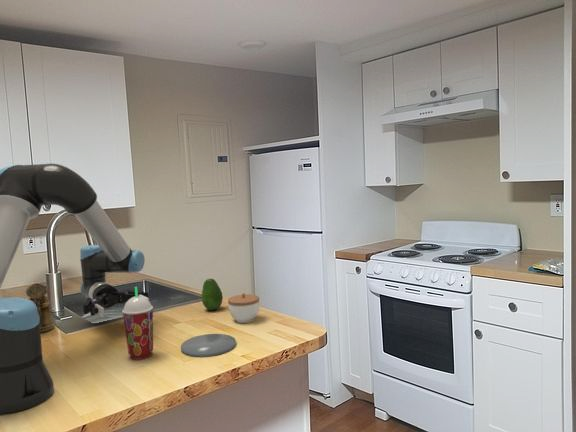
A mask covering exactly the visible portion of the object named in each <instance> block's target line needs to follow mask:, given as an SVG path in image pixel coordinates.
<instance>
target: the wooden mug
mask: <svg viewBox="0 0 576 432" xmlns="http://www.w3.org/2000/svg"><path fill="white" fill-rule="evenodd" d="M25 293H26V296H27V297H29V298H28V299H29V300H31V301H33V302H34V303H35V304H36V306H37V310H38V315H39V318H40V334H42V333H46V332H50V331H53V330H54V329H55V328H56V326H55V321H54V320H53V317H52V313H51V312H52V311H51V308H50V306H51V303H50V300H49V299H48V296H47V293H48V290H47V287H46V286H45V285H44V284H41V283H40V284H39V283H33V284H31V285H30V286H28V287H27V289H26V291H25Z"/></svg>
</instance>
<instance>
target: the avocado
mask: <svg viewBox="0 0 576 432" xmlns="http://www.w3.org/2000/svg"><path fill="white" fill-rule="evenodd" d="M223 298H224V297H223V293H222V289H221V288H220V286H219V283H218V282H217V281H216V280H215V279H214V278H207V279H206V280H204V282H203V285H202V291H201V302H202V305H203V306H204V307H205V308H206V309H207V310H209V311H215V310H217V309H219V308H220V307H221V306H222V303H223Z"/></svg>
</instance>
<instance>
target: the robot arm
mask: <svg viewBox="0 0 576 432" xmlns="http://www.w3.org/2000/svg"><path fill="white" fill-rule="evenodd" d="M97 199H98V194H97V192H96V191H95V190H94V188H93V187H92V186H91V185H90V183H88V182H87V181H86V179H84V178H83V177H82V176H81V175H79V173H77V172H76V171H74V170H73V169H70V168H69V167H67V166H64V165H62V164H58V163H52V162H51V163H41V164H40V163H39V164H24V165H23V164H13V165H10V166H5V167H3V168H0V289H1V288H2V285H3V283H4V280H5V279H6V276H7V274H8V271H9V269H10V267H11V264H12V261H13V260H14V257H15V255H16V252H17V251H18V247H19V246H20V243H21V242H22V238H23V236H24V234H25V232H26V230H27V228H28V227H27V226H28V224H29V222H30V220H33V219H36V218H37V217H38V216H39V215H40V212H41V209H42V207H43V206H53V205H55V206H59V207H60V208H63V209H64V210H65V211H66V213H68V214H70V215H73V216H74V217H75V218H76V219H77V220H78V222H79V223H80V225H81V226H82V227H83V228H84V229H85V230H86V232H87V233H88V234H89V235H90V236H91V238H92V239H93V241H94V242H95V243H96V244H91V245H90V244H89V245H85V246H82V247H81V248H80V250H79V251H80V257H79V260H80V269H81V276H82V280H81V281H82V282H81V284H80V293H81V294H82V296H83V297H84V298H85V299H86V301H85V303H84V304H83V305H82V309H83V314H84V315H87V314H89V313H90V316H95V315H97V316H98V317H101V318H105V309H109V308H111V307H113V306H114V305H117V304H124V303H125V304H126V302H127V301H128V300H129V299H130V298H132V297H135V290H130V289H127V290H125V292H124V291H119V290H118V289H117V288H116V286H115V287H114V285H111V284H109V283H108V282H107V280H106V277H107V276H106V274H107V273H109V274H110V273H115V274H116V273H121V274H122V273H123V274H124V273H128V274H131V273H140V272H141V271H142V270H143V269H144V267H145V255H144V253H143V252H142V251H141V250H136V249H131V247H130V246H129V244H128V243H127V241H126V240H125V238H124V237H123V236H122V234H121V233H120V232H119V230H118V229H117V227H116V226H115V224H114V223H113V222H112V220H111V219H110V217H109V215H108V214H107V213H106V212H105V210H104V209H103V207H102V206H101V204H100V203H99V202H98V200H97ZM137 292H138V296H142V297H144V298H146V299H147V300H148V301H149V302H150V294H149V292H148V291H139V290H137ZM29 299H30V298H25V297H24V298H23V297H10V296H9V297H6V298H5V297H0V415H3V414H4V415H5V414H12V413H17V412H20V411H24V410H27V409H30V408H33V407H35V406H37V405H39V404H41V403H43V402H45V401H46V400H48V399H49V398H50V397H51V396H52V395H53V393H54V392H55V388H54V386H55V384H54V381H53V378H52V376H51V374H50V372H49V370H48V368H47V365H46V364H45V362H44V359H43V350H42V349H43V347H42V339H41V338H42V336H41V334H42V333H40V318H39V315H38V310H37V306H36V304H35V303H34V302H33V301H31V300H29Z"/></svg>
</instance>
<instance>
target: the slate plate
mask: <svg viewBox="0 0 576 432" xmlns="http://www.w3.org/2000/svg"><path fill="white" fill-rule="evenodd" d="M236 341H237V340H236V338H235V337H234V336H232V335H229V334H226V333H208V334H207V333H206V334H201V335H196V336H193V337H190V338H188V339H186V340H184V341H183V342H182V343H181V344H180V351H181V353H182V354H184V355H185V356H188V357H193V358H194V357H195V358H207V357H208V358H209V357H214V356H219V355H224V354H226V353H229V352H231V351H232V350H233V349H235V347H236V345H237V344H236V343H237V342H236Z"/></svg>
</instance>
